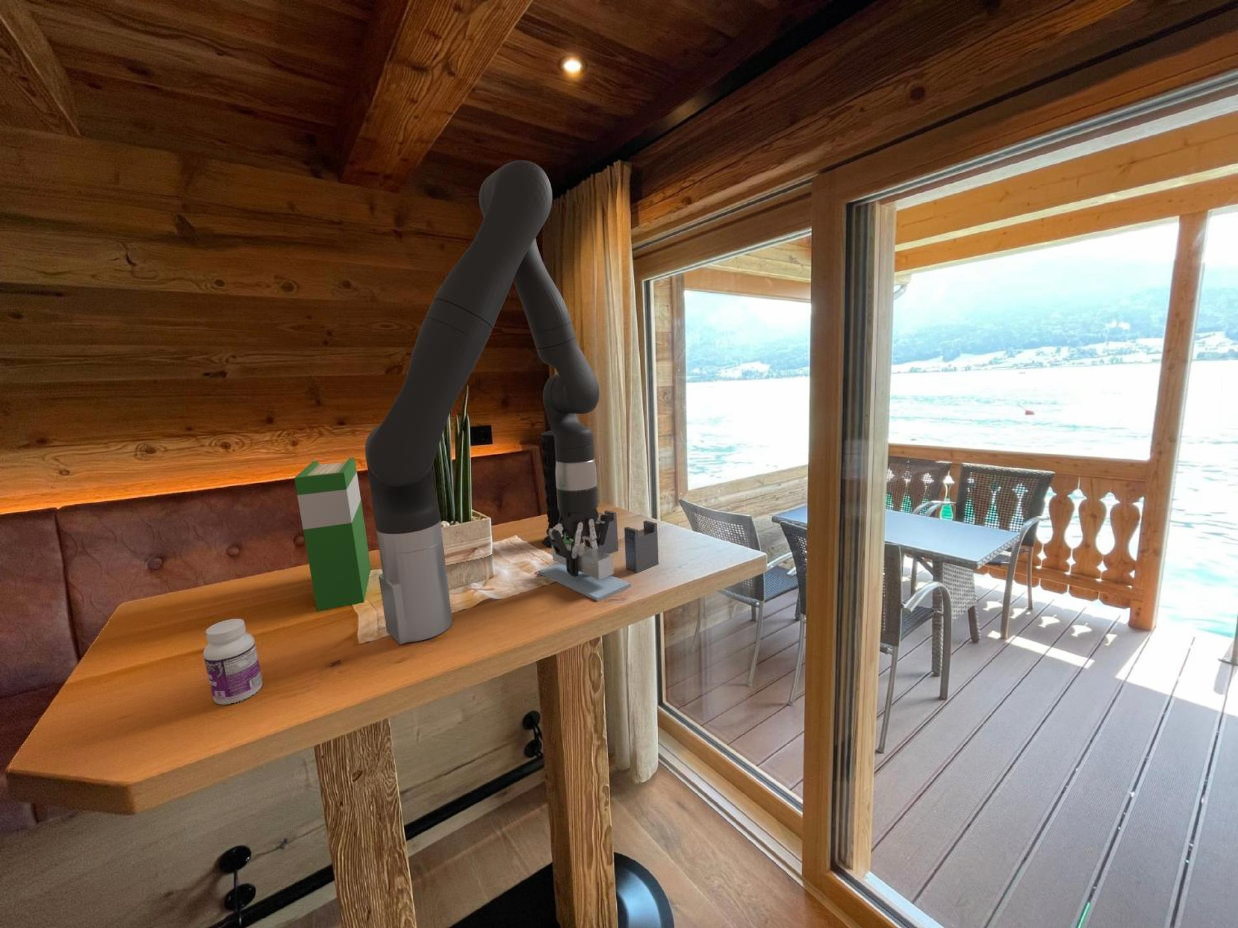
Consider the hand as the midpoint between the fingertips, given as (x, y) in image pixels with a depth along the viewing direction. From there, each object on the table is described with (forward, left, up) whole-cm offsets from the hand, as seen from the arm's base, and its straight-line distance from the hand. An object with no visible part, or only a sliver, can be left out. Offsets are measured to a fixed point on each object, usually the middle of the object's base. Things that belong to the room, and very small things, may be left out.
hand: (582, 571), depth 98 cm
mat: (0, 0, -2) cm, 2 cm away
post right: (+12, -4, -2) cm, 13 cm away
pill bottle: (-53, +6, -2) cm, 53 cm away
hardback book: (-33, +32, -2) cm, 46 cm away
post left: (+12, +8, -2) cm, 15 cm away
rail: (0, 0, +1) cm, 1 cm away
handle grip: (+11, +21, -2) cm, 24 cm away
